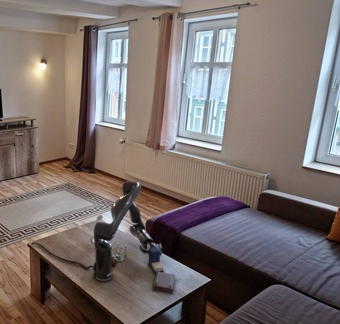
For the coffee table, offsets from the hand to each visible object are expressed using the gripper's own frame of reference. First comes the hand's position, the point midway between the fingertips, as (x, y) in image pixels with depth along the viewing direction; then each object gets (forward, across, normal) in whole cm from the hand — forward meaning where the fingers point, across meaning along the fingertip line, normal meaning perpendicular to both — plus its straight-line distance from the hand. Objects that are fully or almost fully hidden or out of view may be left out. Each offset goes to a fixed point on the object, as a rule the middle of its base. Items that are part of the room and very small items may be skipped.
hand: (156, 254), depth 194 cm
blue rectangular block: (0, 0, +9) cm, 9 cm away
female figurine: (-36, -24, +9) cm, 44 cm away
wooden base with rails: (+15, -1, +9) cm, 18 cm away
